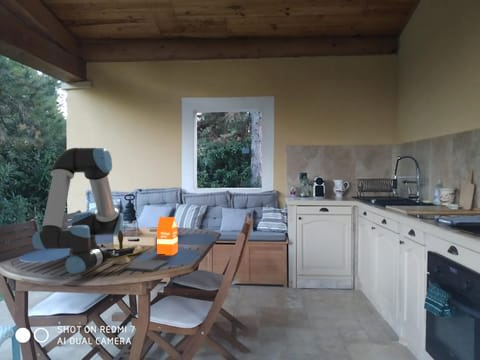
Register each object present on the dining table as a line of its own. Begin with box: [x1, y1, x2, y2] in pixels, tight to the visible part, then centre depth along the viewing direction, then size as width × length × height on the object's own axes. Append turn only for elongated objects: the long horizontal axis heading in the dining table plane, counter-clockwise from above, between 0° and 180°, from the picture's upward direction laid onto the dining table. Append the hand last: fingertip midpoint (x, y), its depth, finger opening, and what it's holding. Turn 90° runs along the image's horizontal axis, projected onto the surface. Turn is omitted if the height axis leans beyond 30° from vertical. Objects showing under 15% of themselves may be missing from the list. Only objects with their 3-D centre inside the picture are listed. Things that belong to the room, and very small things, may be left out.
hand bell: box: [112, 230, 131, 265], centre depth 180 cm, size 8×8×16 cm
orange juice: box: [156, 216, 179, 256], centre depth 197 cm, size 8×9×20 cm
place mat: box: [123, 258, 169, 273], centre depth 173 cm, size 15×15×1 cm
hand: (124, 246), depth 182 cm, fingers open, 13 cm apart
